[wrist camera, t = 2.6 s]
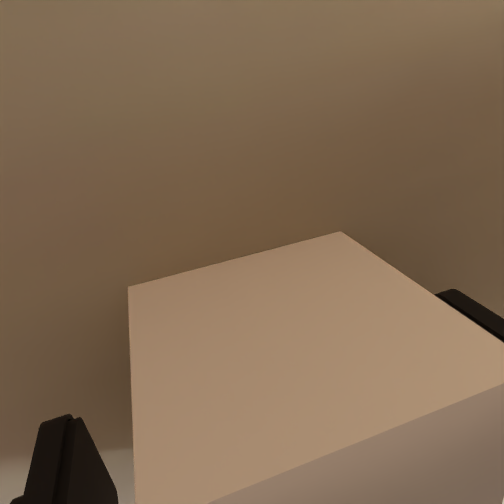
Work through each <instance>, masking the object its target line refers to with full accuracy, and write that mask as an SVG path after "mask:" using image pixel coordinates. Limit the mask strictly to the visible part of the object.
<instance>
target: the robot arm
mask: <svg viewBox="0 0 504 504" xmlns="http://www.w3.org/2000/svg"><path fill="white" fill-rule="evenodd" d="M435 296H436V297H438V298H439V299H441V300H442V301H444V302H445V303H446V304H448V305H449V306H451V307H452V308H454V309H455V310H457V311H458V312H460V313H461V314H462V315H464V316H465V317H467V318H468V319H470V320H471V321H473V322H474V323H476V324H477V325H479V326H480V327H481V328H483V329H484V330H486V331H487V332H489V333H490V334H492V335H493V336H495V337H496V338H497V339H499V340H500V341H502V342H503V343H504V319H503V318H501V317H500V316H498V315H497V314H495V313H493V312H492V311H490V310H489V309H487V308H485V307H484V306H482V305H481V304H479V303H477V302H476V301H474V300H473V299H471V298H469V297H468V296H466V295H465V294H463V293H461V292H460V291H458V290H456V289H450V290H447V291H444V292H441V293H438V294H435ZM10 504H118V496H117V491H116V488H115V485H114V483H113V481H112V479H111V477H110V475H109V473H108V471H107V469H106V467H105V465H104V463H103V461H102V459H101V457H100V454H99V452H98V450H97V448H96V446H95V444H94V442H93V440H92V438H91V436H90V434H89V432H88V430H87V428H86V426H85V424H84V422H83V420H82V418H80V417H79V418H76V419H74V418H73V417H72V415H70V414H67V415H64V416H61V417H58V418H55V419H52V420H48V421H45V422H42V424H41V425H40V428H39V431H38V435H37V440H36V444H35V448H34V452H33V457H32V461H31V465H30V470H29V474H28V478H27V482H26V487H25V491H24V495H22V496H20V497H17V498H15V499H13V500H12V501H11V503H10Z"/></svg>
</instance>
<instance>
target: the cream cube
mask: <svg viewBox="0 0 504 504" xmlns="http://www.w3.org/2000/svg"><path fill="white" fill-rule="evenodd" d="M128 311H129V339H130V367H131V395H132V423H133V451H134V479H135V504H502V501H503V498H504V343H503V342H502V341H500V340H499V339H497V338H496V337H495V336H493V335H492V334H490V333H489V332H487V331H486V330H484V329H483V328H481V327H480V326H479V325H477V324H476V323H474V322H473V321H471V320H470V319H468V318H467V317H465V316H464V315H462V314H461V313H460V312H458V311H457V310H455V309H454V308H452V307H451V306H449V305H448V304H446V303H445V302H444V301H442V300H441V299H439V298H438V297H436V296H435V295H433V294H432V293H430V292H429V291H427V290H426V289H425V288H423V287H422V286H420V285H419V284H417V283H416V282H414V281H413V280H411V279H410V278H408V277H407V276H406V275H404V274H403V273H401V272H400V271H398V270H397V269H395V268H394V267H392V266H391V265H390V264H388V263H387V262H385V261H384V260H382V259H381V258H379V257H378V256H376V255H375V254H373V253H372V252H371V251H369V250H368V249H366V248H365V247H363V246H362V245H360V244H359V243H357V242H356V241H355V240H353V239H352V238H350V237H349V236H347V235H346V234H344V233H343V232H341V231H339V232H335V233H331V234H328V235H324V236H320V237H316V238H312V239H309V240H305V241H301V242H297V243H293V244H289V245H286V246H282V247H278V248H274V249H270V250H267V251H263V252H259V253H255V254H251V255H248V256H244V257H240V258H236V259H232V260H228V261H225V262H221V263H217V264H213V265H209V266H206V267H202V268H198V269H194V270H190V271H187V272H183V273H179V274H175V275H171V276H167V277H164V278H160V279H156V280H152V281H148V282H145V283H141V284H137V285H133V286H129V287H128Z"/></svg>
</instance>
